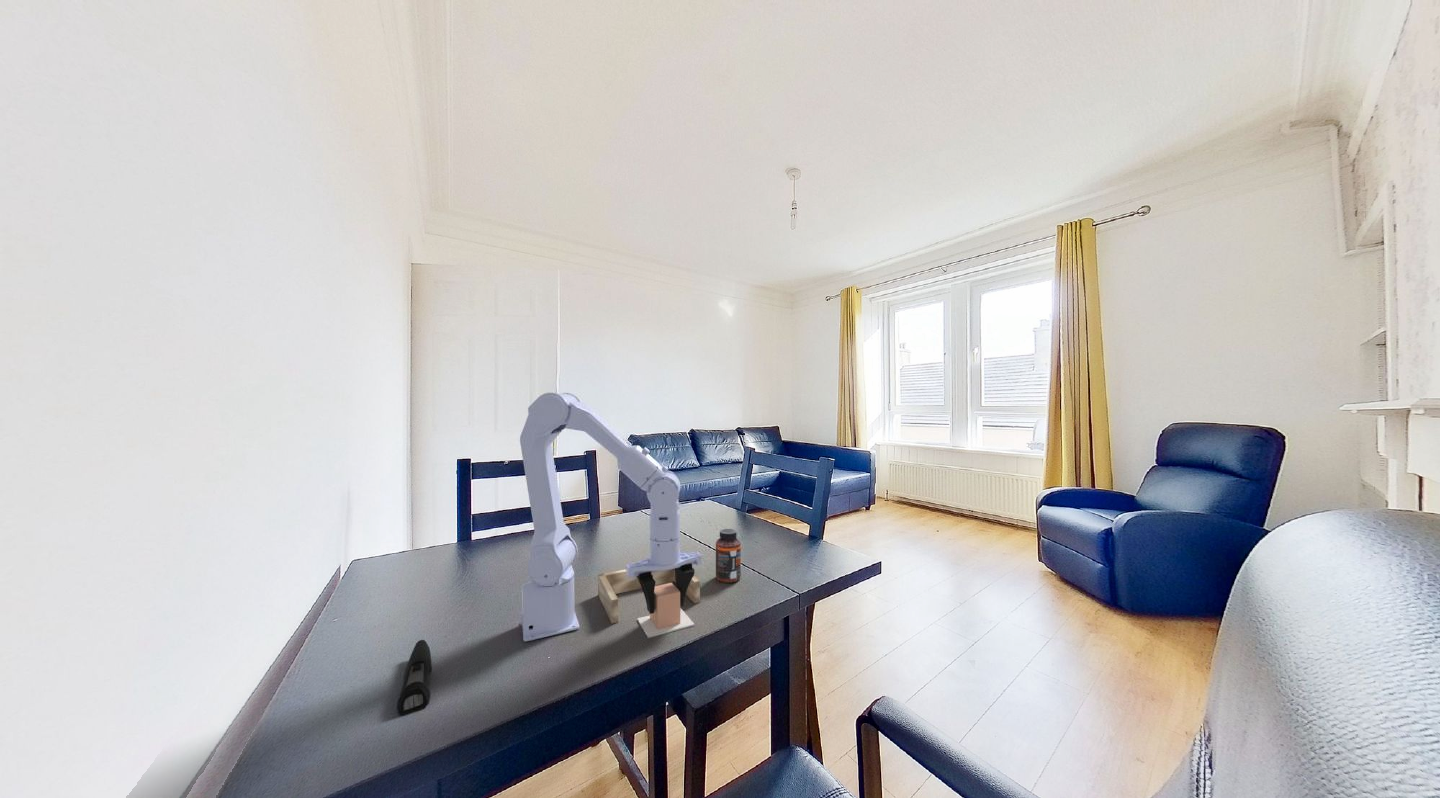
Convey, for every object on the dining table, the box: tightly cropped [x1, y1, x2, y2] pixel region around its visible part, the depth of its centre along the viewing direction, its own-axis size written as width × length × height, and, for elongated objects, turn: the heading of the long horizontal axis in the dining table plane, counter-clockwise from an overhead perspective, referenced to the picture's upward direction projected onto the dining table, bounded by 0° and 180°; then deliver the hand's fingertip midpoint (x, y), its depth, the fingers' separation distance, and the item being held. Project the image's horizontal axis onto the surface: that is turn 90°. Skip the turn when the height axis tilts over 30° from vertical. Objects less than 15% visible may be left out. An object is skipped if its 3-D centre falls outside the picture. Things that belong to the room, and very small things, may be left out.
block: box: [649, 582, 681, 629], centre depth 82 cm, size 4×4×6 cm
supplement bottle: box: [715, 528, 742, 584], centre depth 102 cm, size 6×6×11 cm
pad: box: [636, 607, 695, 639], centre depth 82 cm, size 9×7×1 cm
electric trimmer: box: [396, 639, 433, 716], centre depth 66 cm, size 4×16×3 cm, turn 31°
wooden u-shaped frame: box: [597, 568, 701, 624], centre depth 92 cm, size 18×13×4 cm
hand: (665, 607), depth 82 cm, fingers open, 5 cm apart
